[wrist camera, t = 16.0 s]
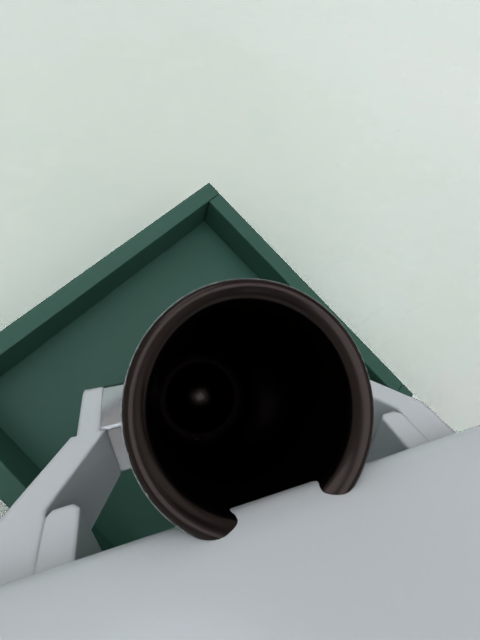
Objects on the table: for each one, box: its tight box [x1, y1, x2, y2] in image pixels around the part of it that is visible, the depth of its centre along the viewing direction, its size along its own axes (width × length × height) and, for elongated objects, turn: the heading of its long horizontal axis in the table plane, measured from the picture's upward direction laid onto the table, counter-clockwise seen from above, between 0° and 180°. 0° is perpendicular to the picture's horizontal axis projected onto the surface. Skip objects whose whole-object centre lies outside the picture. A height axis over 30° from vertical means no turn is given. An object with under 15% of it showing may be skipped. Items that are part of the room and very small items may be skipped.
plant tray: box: [0, 183, 413, 551], centre depth 15 cm, size 16×16×2 cm
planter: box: [121, 278, 374, 541], centre depth 10 cm, size 4×4×10 cm
